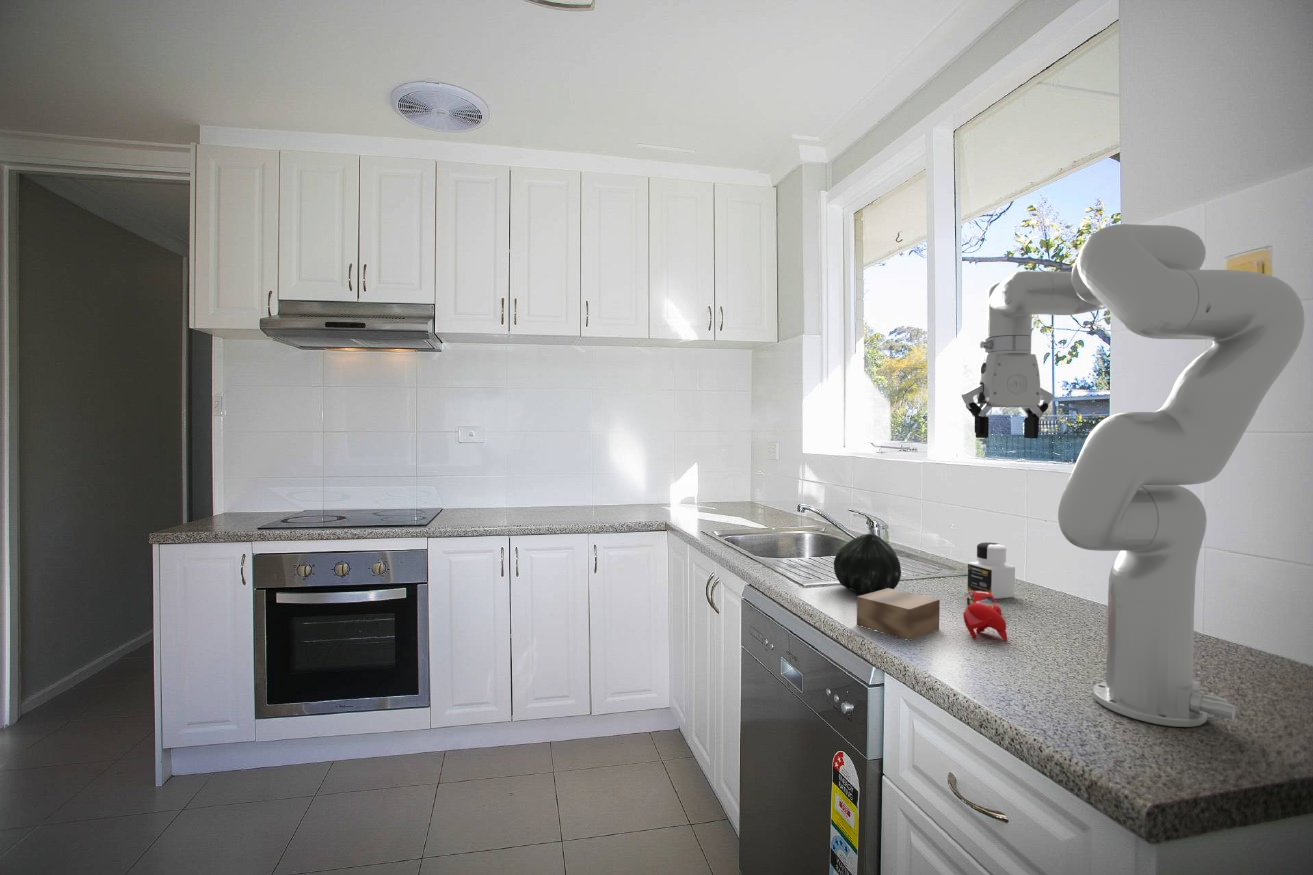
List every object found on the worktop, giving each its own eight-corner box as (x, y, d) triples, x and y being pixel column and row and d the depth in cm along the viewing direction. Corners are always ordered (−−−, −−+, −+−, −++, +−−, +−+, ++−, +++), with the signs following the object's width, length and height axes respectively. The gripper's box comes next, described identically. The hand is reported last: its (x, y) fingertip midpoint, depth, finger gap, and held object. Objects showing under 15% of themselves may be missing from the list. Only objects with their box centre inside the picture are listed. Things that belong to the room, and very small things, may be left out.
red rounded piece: (956, 620, 118) (986, 609, 115) (959, 602, 123) (988, 591, 120) (982, 654, 118) (1013, 644, 115) (984, 635, 123) (1014, 625, 120)
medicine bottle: (966, 591, 152) (967, 541, 151) (990, 589, 154) (991, 540, 154) (990, 599, 145) (991, 547, 145) (1015, 597, 147) (1016, 545, 147)
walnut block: (939, 630, 123) (939, 599, 123) (908, 641, 117) (909, 609, 116) (887, 616, 132) (888, 587, 132) (856, 626, 125) (857, 596, 125)
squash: (855, 558, 163) (840, 518, 155) (914, 569, 154) (902, 527, 145) (834, 602, 156) (818, 563, 148) (896, 617, 146) (881, 576, 138)
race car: (1003, 622, 129) (1003, 603, 129) (973, 619, 131) (974, 600, 131) (992, 605, 141) (992, 587, 141) (965, 602, 143) (965, 585, 143)
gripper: (975, 344, 116) (973, 438, 117) (1065, 346, 118) (1063, 438, 118) (953, 349, 124) (952, 437, 124) (1039, 350, 125) (1037, 437, 125)
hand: (1006, 438), depth 121 cm, fingers open, 9 cm apart
